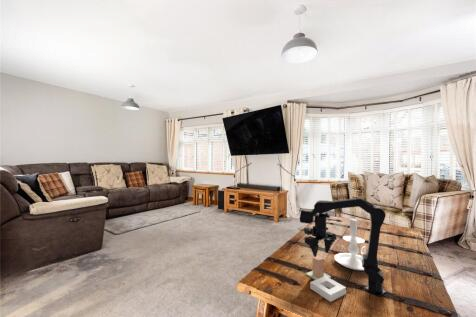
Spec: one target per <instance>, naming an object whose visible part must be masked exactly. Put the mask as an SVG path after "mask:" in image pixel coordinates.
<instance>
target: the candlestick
mask: <svg viewBox="0 0 476 317" xmlns="http://www.w3.org/2000/svg"><path fill="white" fill-rule="evenodd" d="M357 234H358V219H356V218H352V217H350V218H349V235H344V236H342V239H343V240H344V241H346V242H349V245H348V246H347V250H348V252H340V253H336V254H335V255H334V257H333V258H334V259H333V260H335V261H336V262H337V263H339V264H340V265H341V266H343V267H344V268H345V267H346V268H347V269H349V270H353V271H364V267H362V260H363V254H365V255H366V253H367V250H366V247H367V245H364V246H362V247H361V249H360V248H359V247H358V244H364V243H366V242H365V239H364V238H362V237H358V236H357ZM359 252H360V254H361V255H360V254H359Z"/></svg>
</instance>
